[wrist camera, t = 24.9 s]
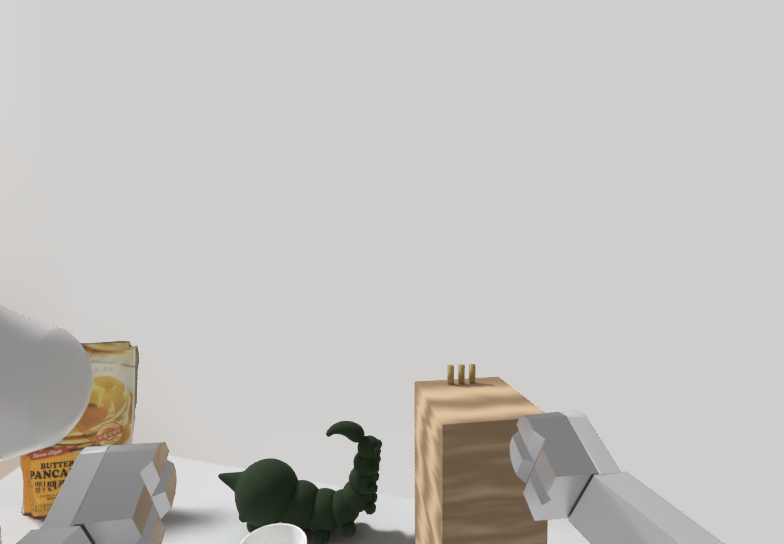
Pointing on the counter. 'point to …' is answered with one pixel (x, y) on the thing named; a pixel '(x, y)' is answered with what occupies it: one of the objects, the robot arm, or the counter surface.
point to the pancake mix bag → (87, 424)
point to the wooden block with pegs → (470, 463)
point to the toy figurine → (308, 491)
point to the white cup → (276, 535)
